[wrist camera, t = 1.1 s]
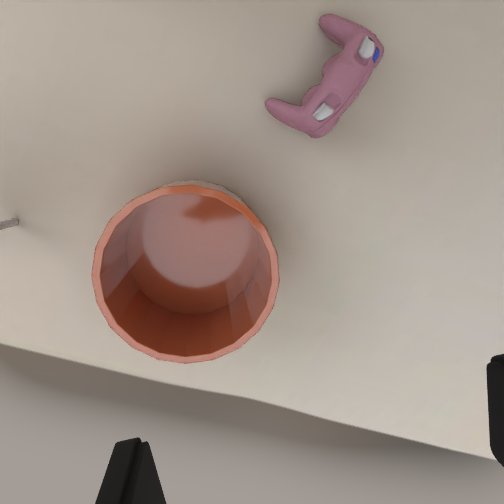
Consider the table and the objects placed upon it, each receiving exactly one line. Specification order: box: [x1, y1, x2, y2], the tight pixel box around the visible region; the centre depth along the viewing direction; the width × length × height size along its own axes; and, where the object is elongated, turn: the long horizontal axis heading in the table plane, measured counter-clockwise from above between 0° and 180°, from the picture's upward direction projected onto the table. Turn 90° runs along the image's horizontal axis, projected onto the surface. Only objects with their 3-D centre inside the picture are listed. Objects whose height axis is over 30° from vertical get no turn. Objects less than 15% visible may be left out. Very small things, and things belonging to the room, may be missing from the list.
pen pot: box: [92, 180, 280, 364], centre depth 34 cm, size 14×14×10 cm
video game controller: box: [265, 14, 384, 138], centre depth 34 cm, size 10×5×7 cm, turn 146°
